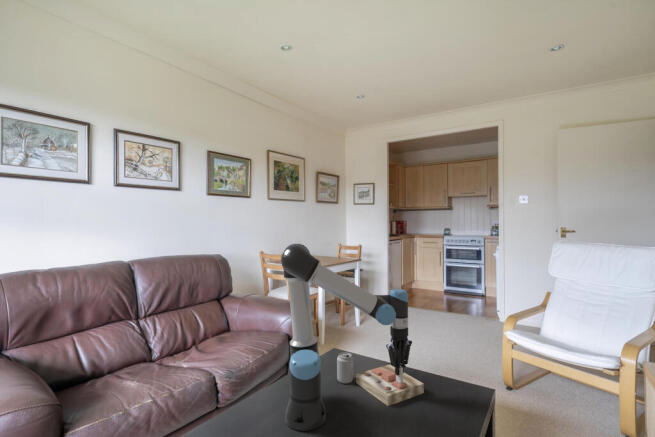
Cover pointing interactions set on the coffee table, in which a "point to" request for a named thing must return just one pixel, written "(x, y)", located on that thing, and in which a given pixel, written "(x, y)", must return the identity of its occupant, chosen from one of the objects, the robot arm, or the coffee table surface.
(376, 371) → the button
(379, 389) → the board
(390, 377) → the button
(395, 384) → the button
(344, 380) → the can
